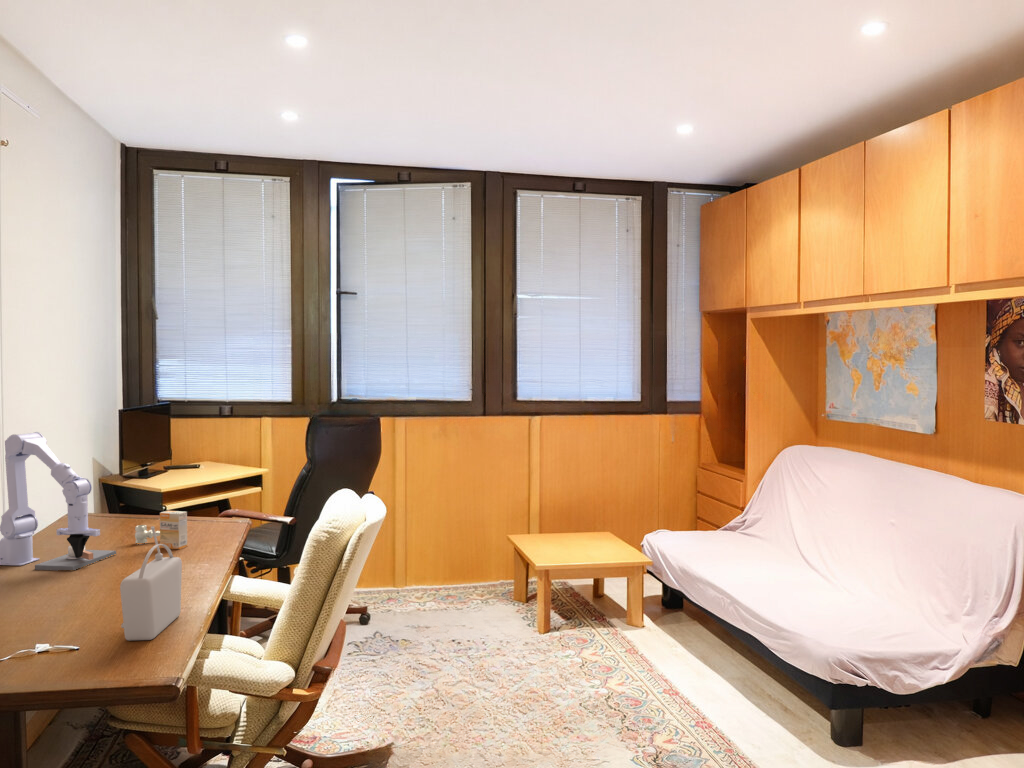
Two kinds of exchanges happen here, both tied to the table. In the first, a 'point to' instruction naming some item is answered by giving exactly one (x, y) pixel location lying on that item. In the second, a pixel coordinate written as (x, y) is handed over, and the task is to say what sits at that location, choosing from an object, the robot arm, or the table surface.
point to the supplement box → (173, 529)
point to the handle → (85, 554)
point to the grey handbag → (151, 595)
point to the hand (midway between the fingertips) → (78, 557)
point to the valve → (143, 533)
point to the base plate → (73, 561)
